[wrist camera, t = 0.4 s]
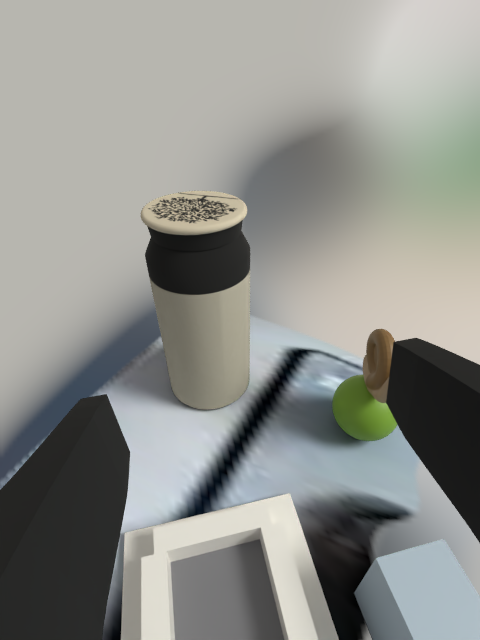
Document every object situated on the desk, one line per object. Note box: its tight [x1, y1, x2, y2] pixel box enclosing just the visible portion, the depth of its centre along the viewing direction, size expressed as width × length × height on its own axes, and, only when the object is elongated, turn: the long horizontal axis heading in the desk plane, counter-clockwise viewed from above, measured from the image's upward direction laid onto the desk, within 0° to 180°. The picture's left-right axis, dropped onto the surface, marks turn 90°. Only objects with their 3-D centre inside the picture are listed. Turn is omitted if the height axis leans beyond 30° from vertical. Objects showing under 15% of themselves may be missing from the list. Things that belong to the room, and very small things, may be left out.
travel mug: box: [141, 191, 250, 409], centre depth 30 cm, size 8×8×18 cm
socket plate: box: [121, 493, 339, 640], centre depth 20 cm, size 12×12×2 cm
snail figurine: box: [332, 329, 397, 441], centre depth 27 cm, size 5×6×12 cm
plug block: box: [354, 539, 480, 640], centre depth 18 cm, size 5×4×6 cm
